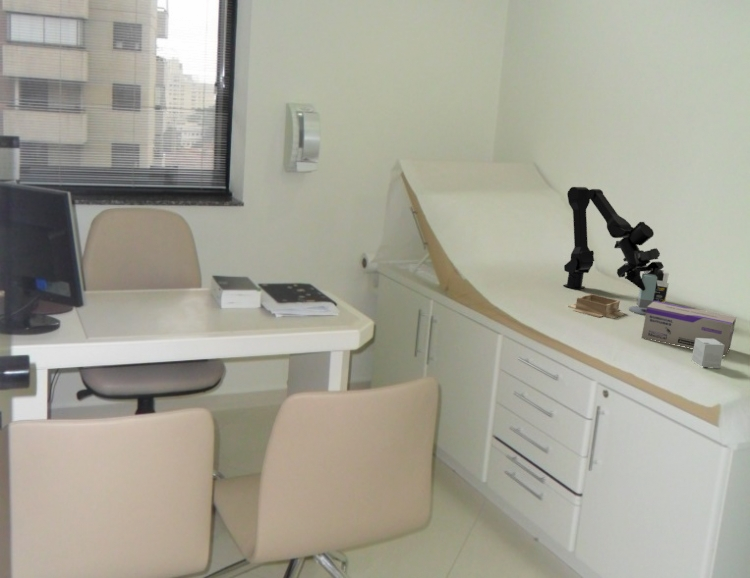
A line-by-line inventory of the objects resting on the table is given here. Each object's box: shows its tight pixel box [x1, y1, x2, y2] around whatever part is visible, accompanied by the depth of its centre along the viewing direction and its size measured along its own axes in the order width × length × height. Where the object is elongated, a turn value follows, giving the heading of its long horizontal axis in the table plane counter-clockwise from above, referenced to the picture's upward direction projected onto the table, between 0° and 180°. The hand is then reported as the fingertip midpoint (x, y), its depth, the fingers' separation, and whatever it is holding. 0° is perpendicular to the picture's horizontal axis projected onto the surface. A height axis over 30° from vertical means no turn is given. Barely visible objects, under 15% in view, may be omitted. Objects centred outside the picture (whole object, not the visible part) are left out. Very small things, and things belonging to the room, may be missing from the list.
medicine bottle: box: [653, 269, 670, 303], centre depth 313 cm, size 7×7×12 cm
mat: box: [628, 305, 647, 316], centre depth 296 cm, size 10×10×1 cm
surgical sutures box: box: [641, 301, 737, 356], centre depth 260 cm, size 25×11×11 cm, turn 60°
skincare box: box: [690, 338, 725, 369], centre depth 240 cm, size 6×6×7 cm
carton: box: [568, 293, 626, 320], centre depth 291 cm, size 17×17×4 cm
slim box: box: [636, 272, 657, 308], centre depth 295 cm, size 4×4×12 cm
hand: (650, 289), depth 293 cm, fingers closed on slim box, 6 cm apart
